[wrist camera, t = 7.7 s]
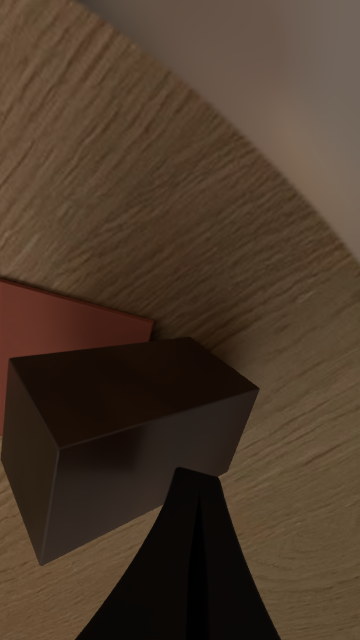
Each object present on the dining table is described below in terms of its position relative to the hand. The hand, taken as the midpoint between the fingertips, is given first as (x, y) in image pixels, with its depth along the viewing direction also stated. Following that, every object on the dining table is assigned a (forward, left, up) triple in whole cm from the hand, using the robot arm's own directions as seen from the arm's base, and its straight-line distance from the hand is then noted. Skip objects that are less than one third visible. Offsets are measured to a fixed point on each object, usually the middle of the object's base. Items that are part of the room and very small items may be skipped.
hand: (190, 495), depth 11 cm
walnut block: (0, 0, -5) cm, 5 cm away
